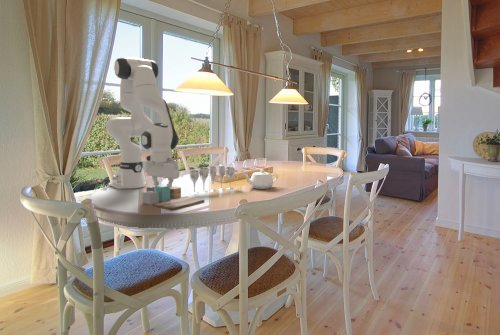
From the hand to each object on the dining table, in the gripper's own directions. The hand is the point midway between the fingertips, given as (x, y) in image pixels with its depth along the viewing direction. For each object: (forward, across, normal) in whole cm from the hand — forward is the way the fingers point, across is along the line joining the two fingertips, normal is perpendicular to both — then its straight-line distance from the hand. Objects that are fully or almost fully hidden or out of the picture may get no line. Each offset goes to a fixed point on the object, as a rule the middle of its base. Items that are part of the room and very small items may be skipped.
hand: (162, 186), depth 167 cm
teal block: (+7, +1, 0) cm, 7 cm away
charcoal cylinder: (+7, +10, 0) cm, 12 cm away
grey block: (+7, +1, +7) cm, 10 cm away
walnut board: (+7, -11, 0) cm, 13 cm away
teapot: (+7, -18, -56) cm, 60 cm away
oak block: (+7, +1, -7) cm, 10 cm away
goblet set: (+7, -3, -32) cm, 33 cm away
